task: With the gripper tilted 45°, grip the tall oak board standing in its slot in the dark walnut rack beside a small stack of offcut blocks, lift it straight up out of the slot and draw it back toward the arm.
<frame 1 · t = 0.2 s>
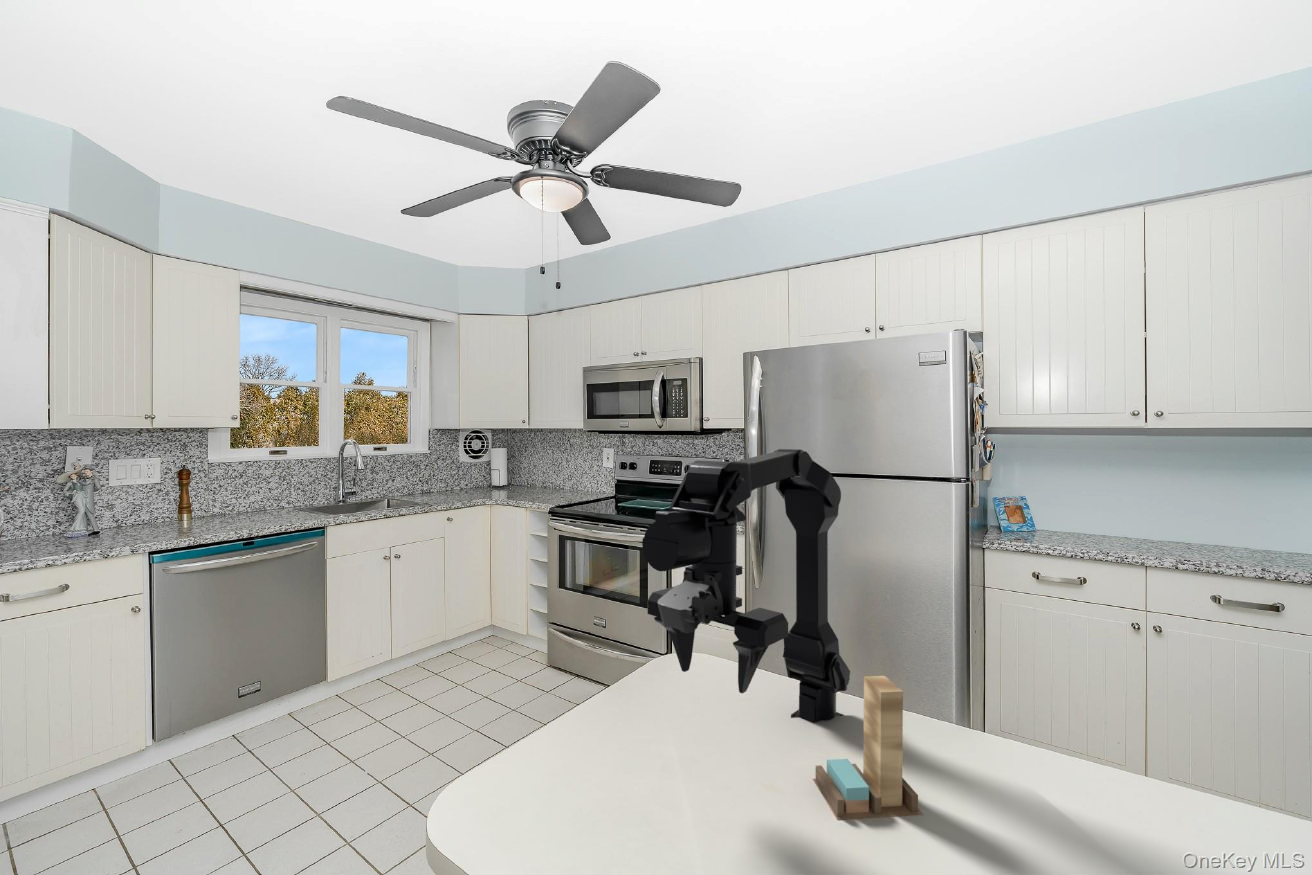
hand: (712, 681, 73), 15 cm above the table, tool pointing down, fingers open, 9 cm apart
offcut lower: (846, 796, 71), point 1 cm above the table, touching offcut upper, rack
rack: (882, 802, 72), on the table
offcut upper: (846, 784, 71), point 2 cm above the table, touching offcut lower
oak board: (882, 794, 72), point 1 cm above the table, touching rack
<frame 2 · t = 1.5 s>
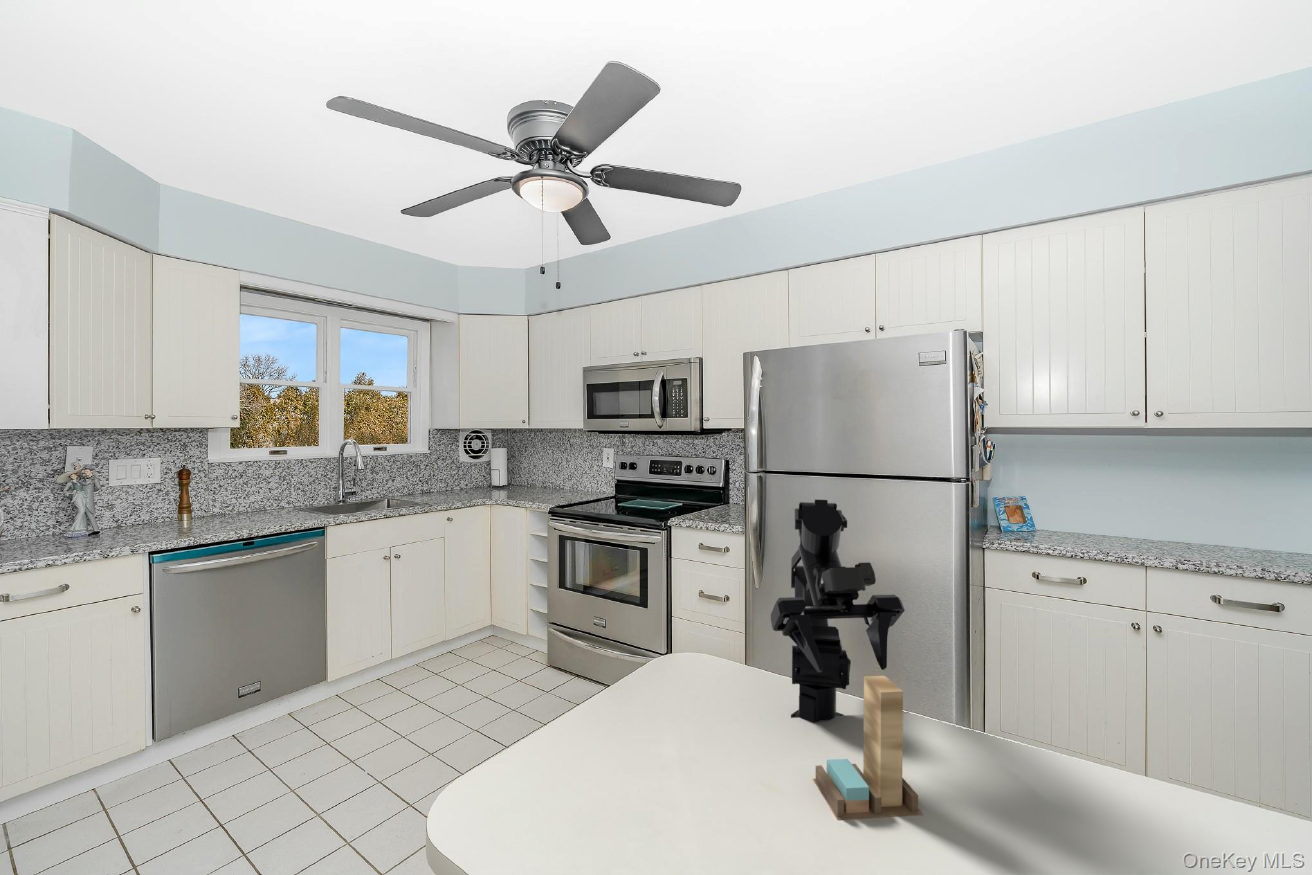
hand: (852, 669, 79), 13 cm above the table, tool tilted 45°, fingers open, 9 cm apart
nothing on the table moved.
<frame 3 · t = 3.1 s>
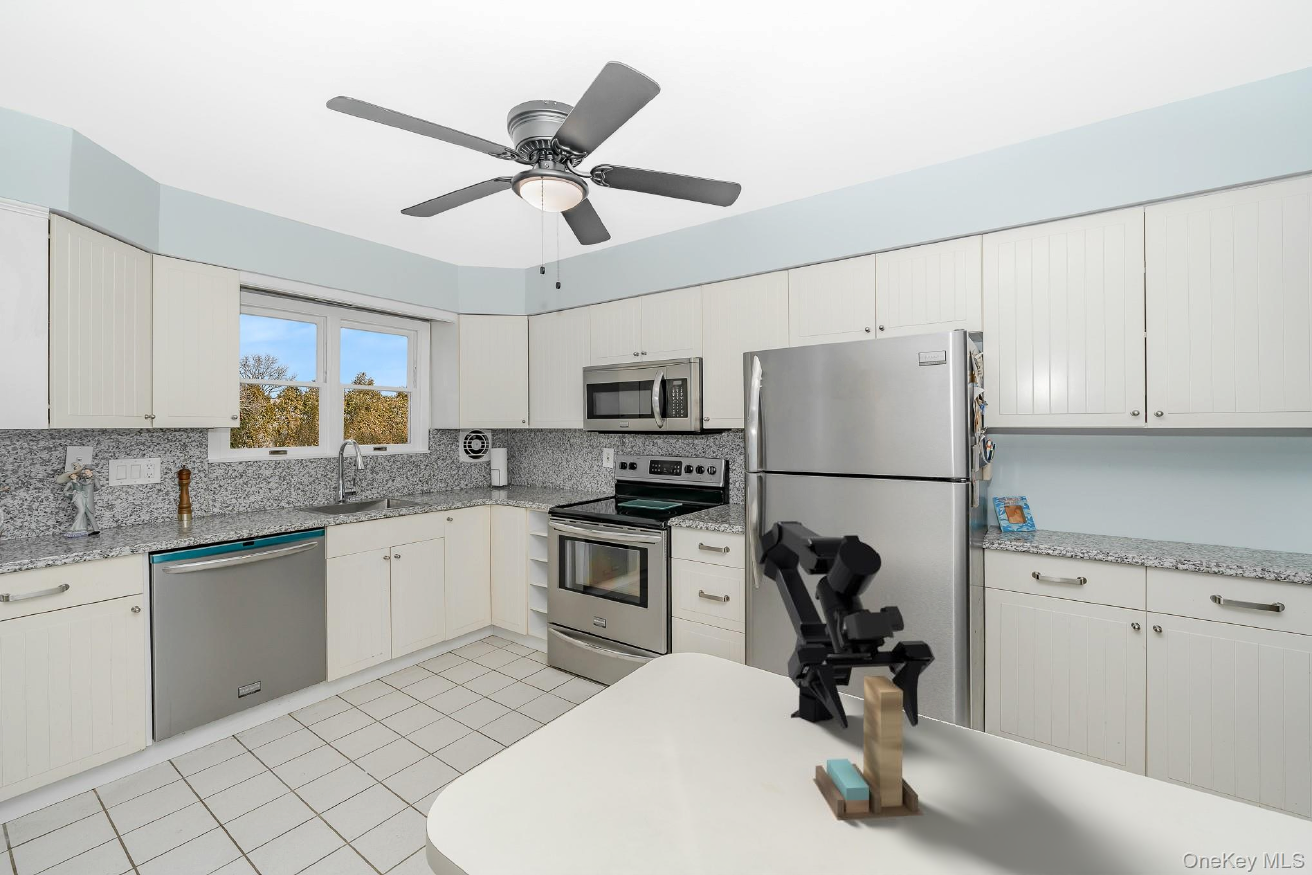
hand: (880, 726, 72), 9 cm above the table, tool tilted 45°, fingers open, 9 cm apart
nothing on the table moved.
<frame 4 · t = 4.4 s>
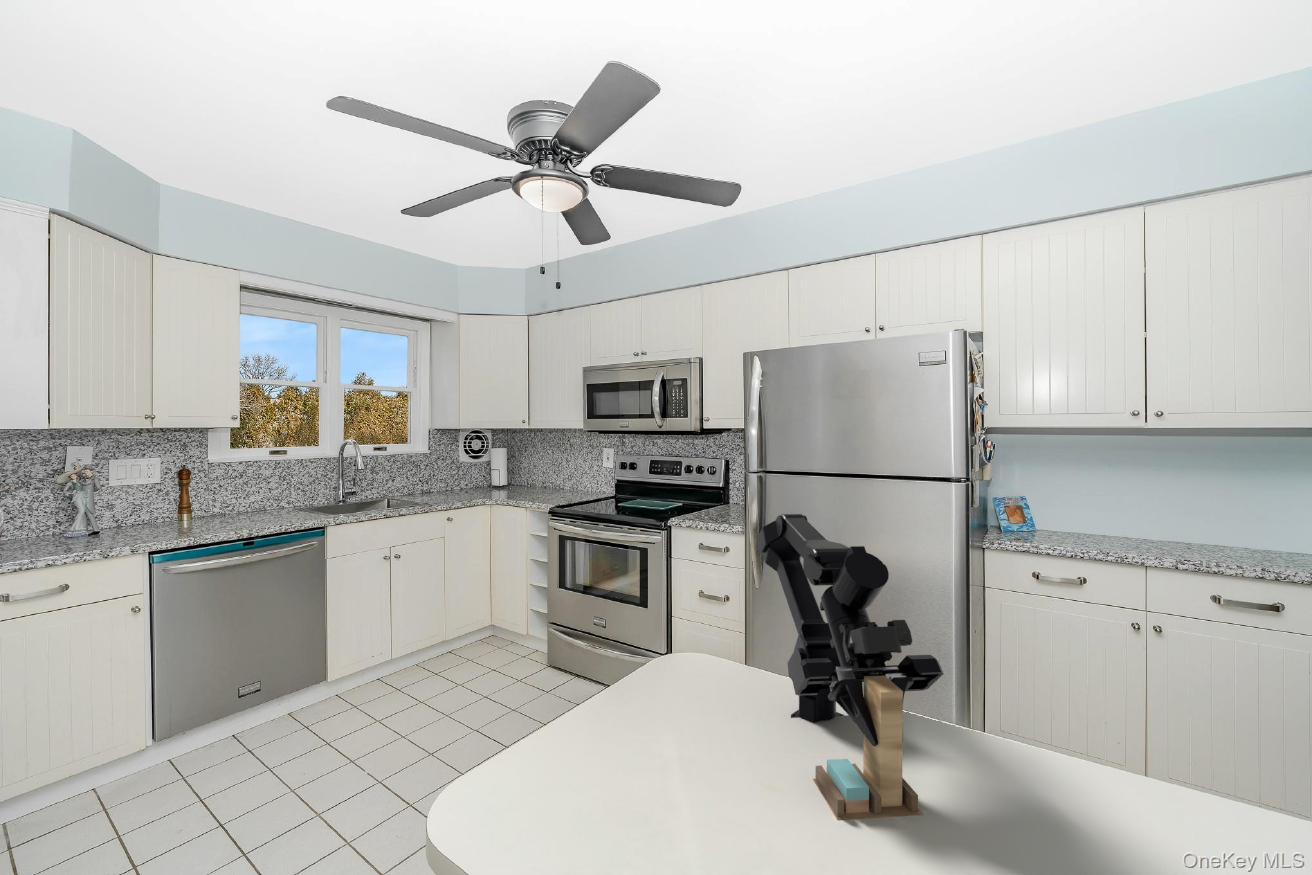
hand: (888, 744, 70), 8 cm above the table, tool tilted 45°, fingers closed on oak board, 3 cm apart
oak board: (882, 794, 72), point 1 cm above the table, touching gripper, rack
everything else where it was.
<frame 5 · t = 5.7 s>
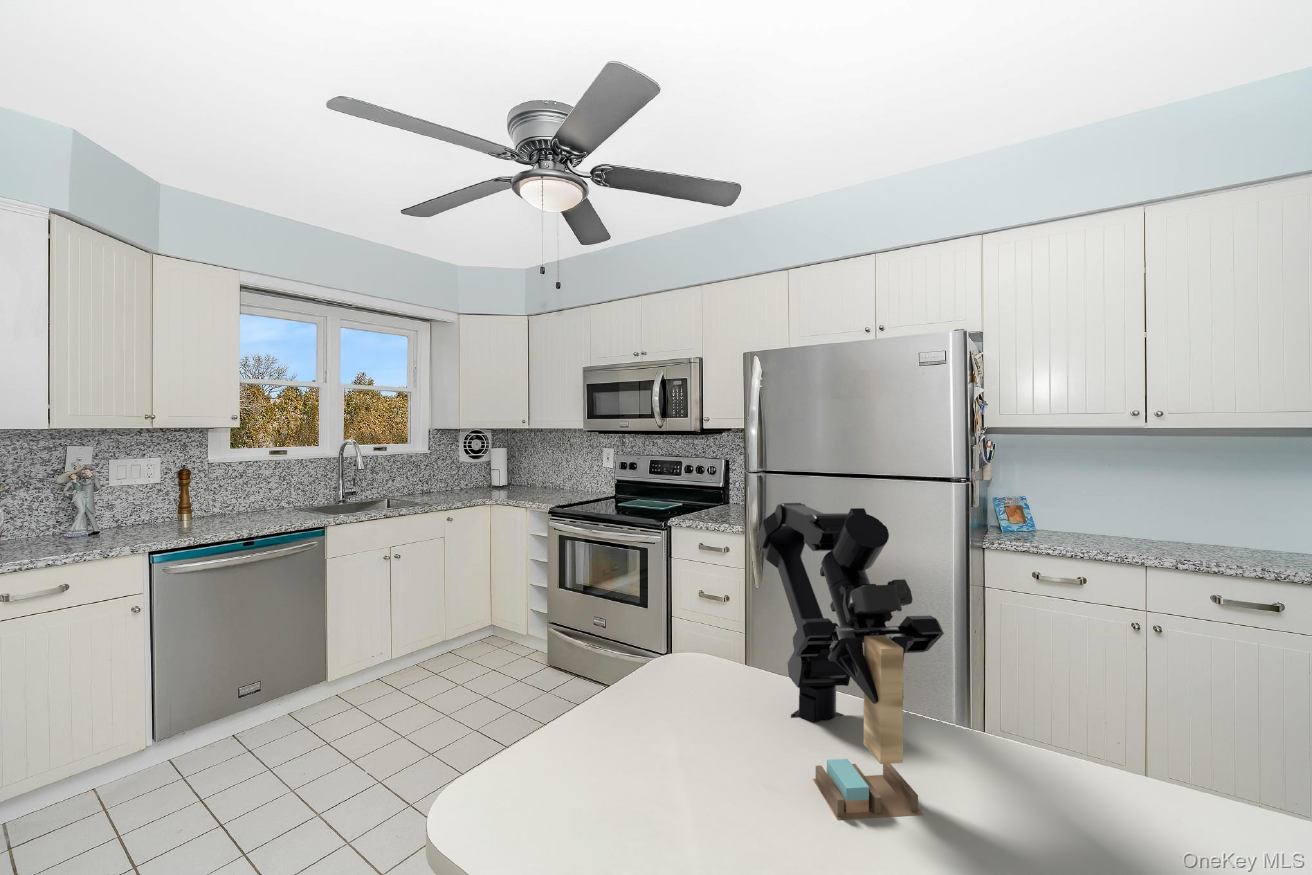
hand: (888, 701, 70), 13 cm above the table, tool tilted 45°, fingers closed on oak board, 3 cm apart
oak board: (882, 752, 72), point 6 cm above the table, touching gripper
everything else where it was.
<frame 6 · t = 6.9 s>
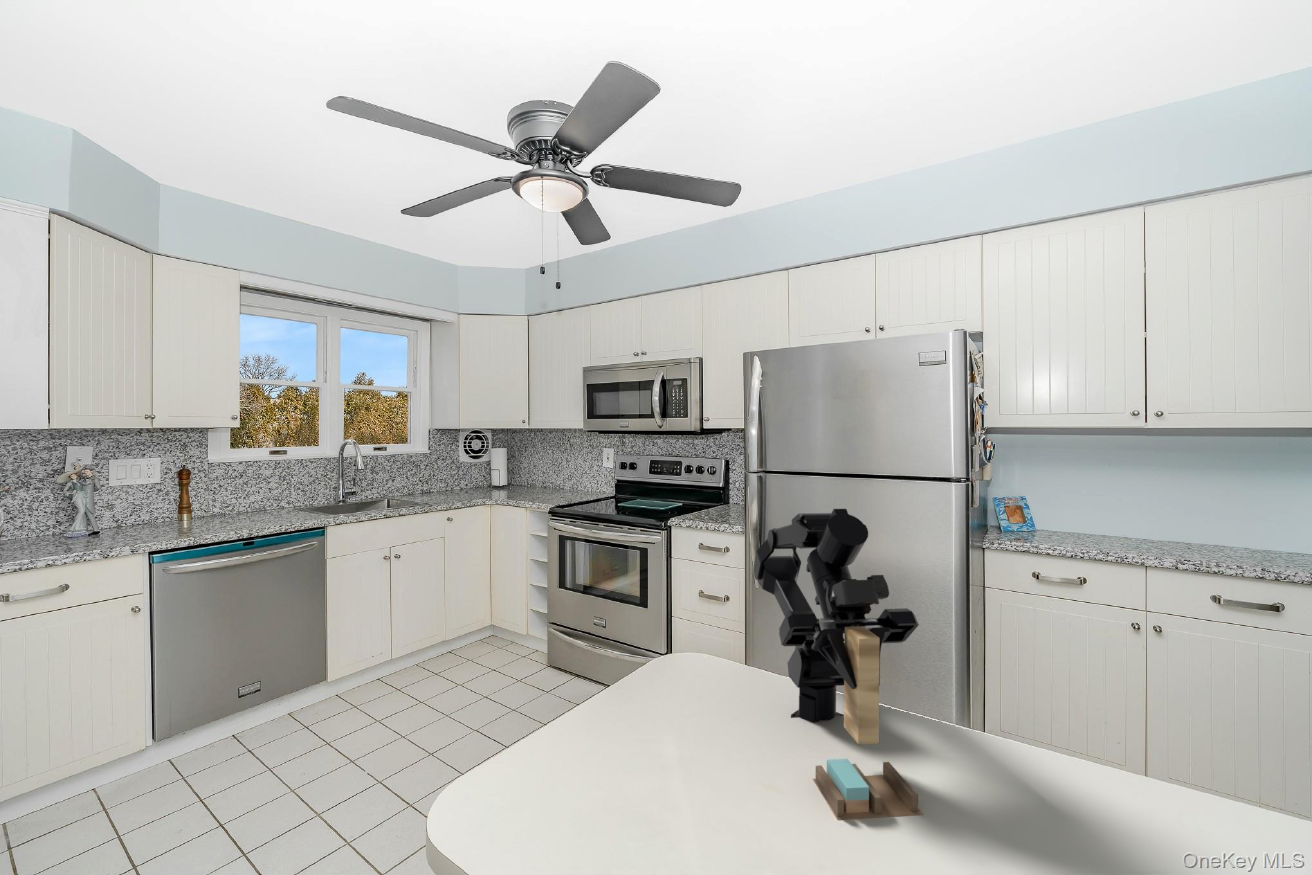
hand: (865, 687, 76), 12 cm above the table, tool tilted 45°, fingers closed on oak board, 3 cm apart
oak board: (860, 734, 78), point 5 cm above the table, touching gripper
everything else where it was.
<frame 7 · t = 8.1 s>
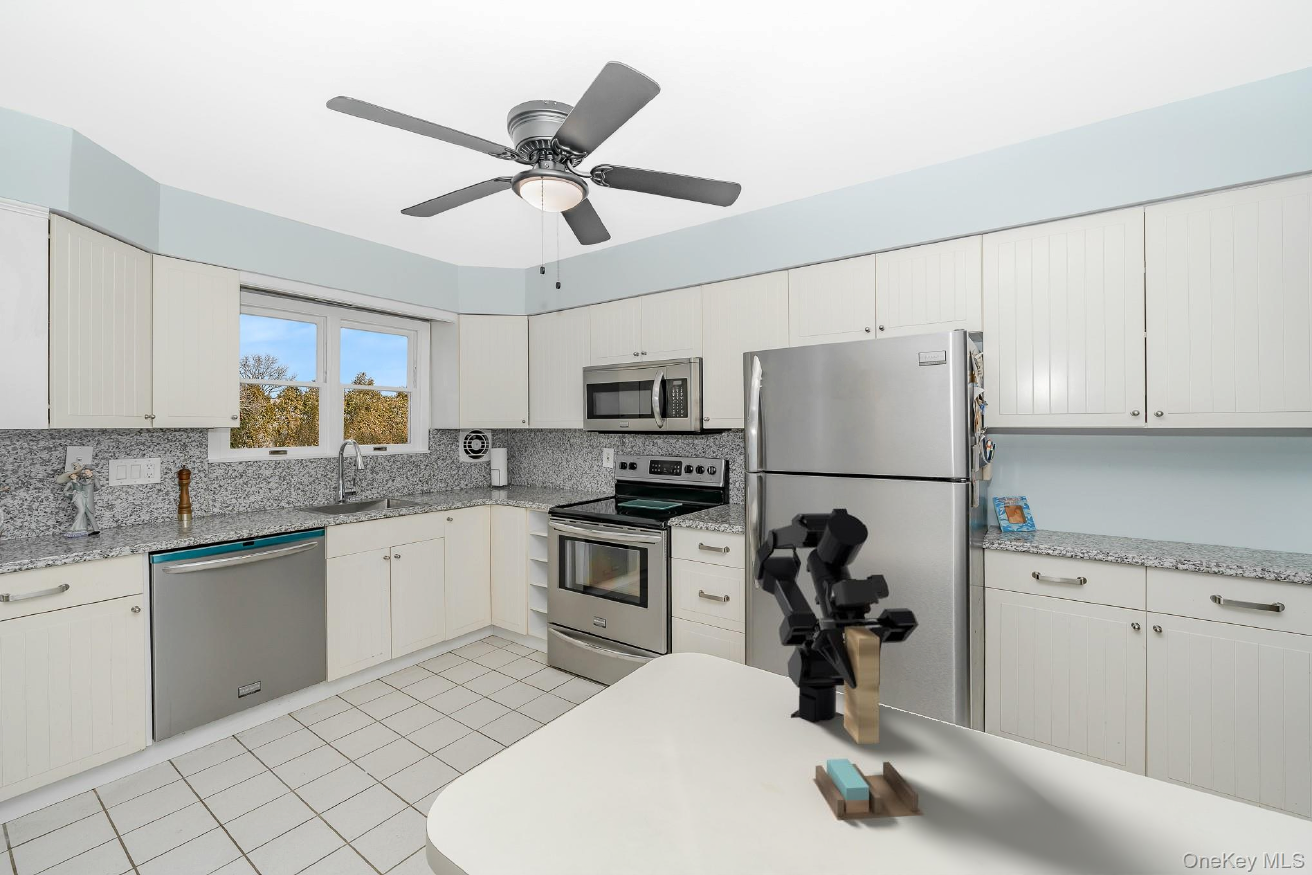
hand: (865, 687, 76), 13 cm above the table, tool tilted 45°, fingers closed on oak board, 3 cm apart
oak board: (860, 734, 78), point 5 cm above the table, touching gripper
everything else where it was.
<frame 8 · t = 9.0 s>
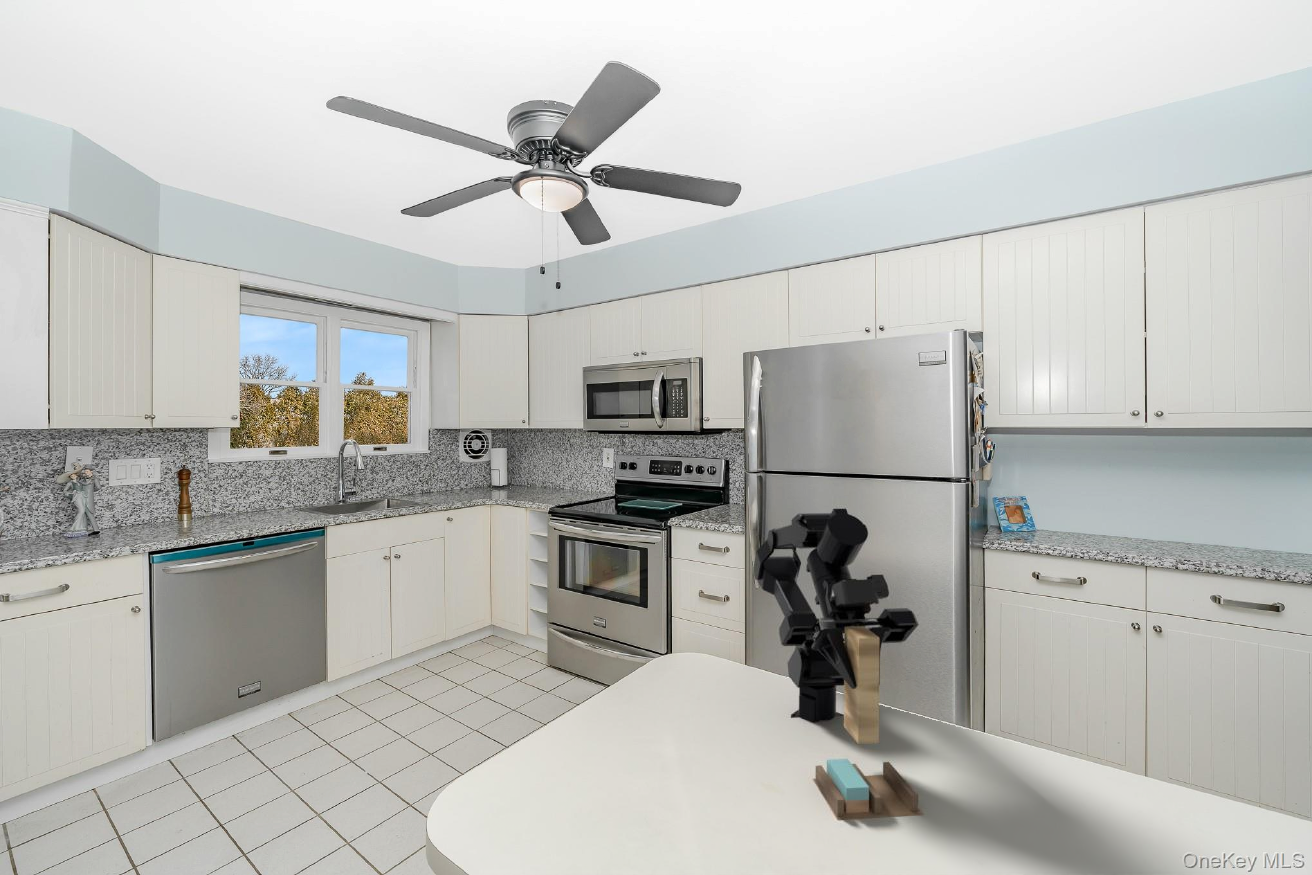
hand: (865, 687, 76), 13 cm above the table, tool tilted 45°, fingers closed on oak board, 3 cm apart
oak board: (860, 734, 78), point 5 cm above the table, touching gripper
everything else where it was.
at the end: the gripper is holding oak board; oak board point 5.4 cm above the table; oak board touching gripper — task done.
